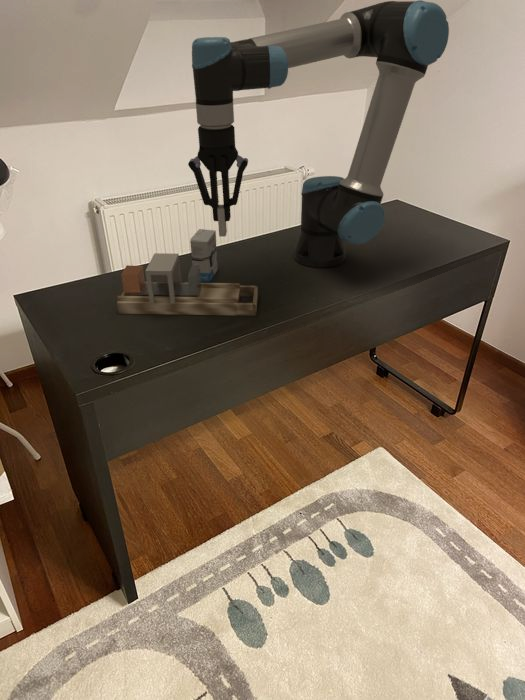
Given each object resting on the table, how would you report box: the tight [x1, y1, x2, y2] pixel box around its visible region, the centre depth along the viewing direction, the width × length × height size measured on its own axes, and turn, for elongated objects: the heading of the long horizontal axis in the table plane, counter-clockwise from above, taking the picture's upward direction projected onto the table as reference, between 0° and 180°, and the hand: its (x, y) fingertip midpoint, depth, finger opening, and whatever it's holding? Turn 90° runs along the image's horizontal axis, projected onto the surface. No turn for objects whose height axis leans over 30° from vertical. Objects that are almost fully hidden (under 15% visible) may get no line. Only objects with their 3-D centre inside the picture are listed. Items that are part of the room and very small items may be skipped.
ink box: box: [189, 228, 218, 283], centre depth 142 cm, size 8×5×12 cm, turn 168°
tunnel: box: [144, 252, 182, 304], centre depth 127 cm, size 6×10×8 cm, turn 178°
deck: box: [116, 281, 259, 317], centre depth 130 cm, size 34×10×4 cm, turn 88°
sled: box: [120, 264, 202, 297], centre depth 128 cm, size 18×6×6 cm, turn 88°
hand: (223, 234), depth 121 cm, fingers closed
